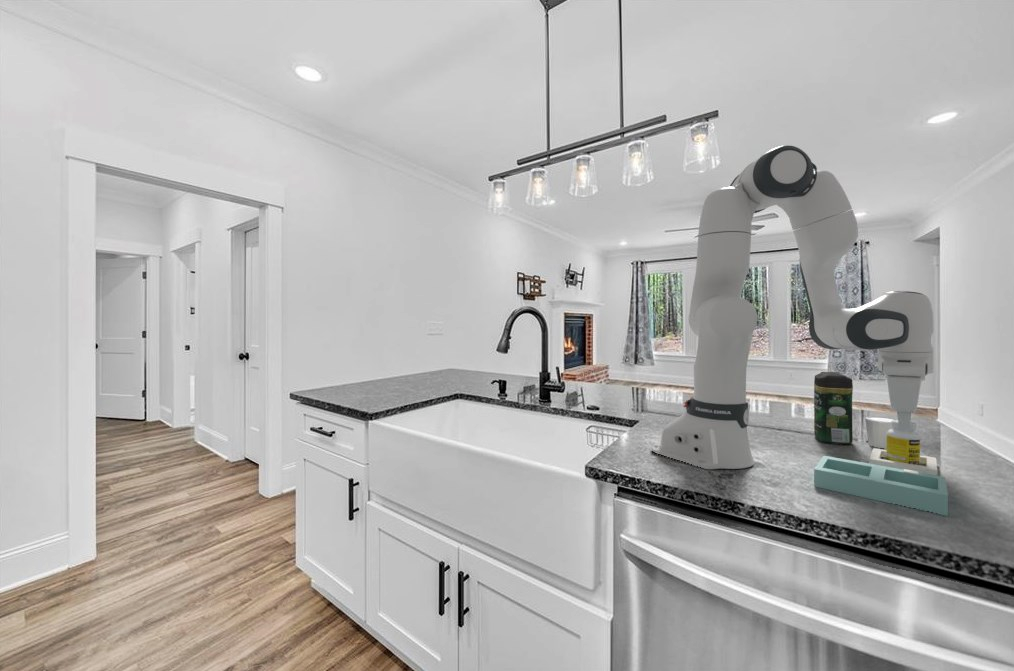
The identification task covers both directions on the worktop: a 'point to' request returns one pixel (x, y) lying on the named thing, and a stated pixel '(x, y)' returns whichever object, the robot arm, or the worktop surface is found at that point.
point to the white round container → (878, 430)
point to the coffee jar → (833, 408)
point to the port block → (883, 484)
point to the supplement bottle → (903, 444)
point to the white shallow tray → (929, 461)
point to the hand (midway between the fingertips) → (904, 425)
